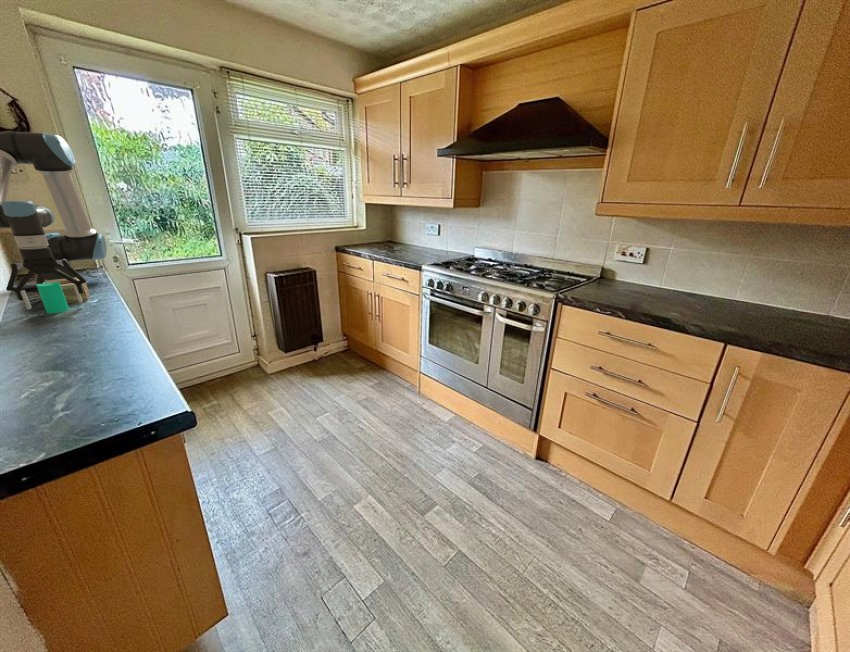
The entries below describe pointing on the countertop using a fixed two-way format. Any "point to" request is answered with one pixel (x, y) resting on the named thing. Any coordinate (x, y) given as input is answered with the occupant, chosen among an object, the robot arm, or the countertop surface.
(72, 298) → the box
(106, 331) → the countertop surface
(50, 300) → the candle
